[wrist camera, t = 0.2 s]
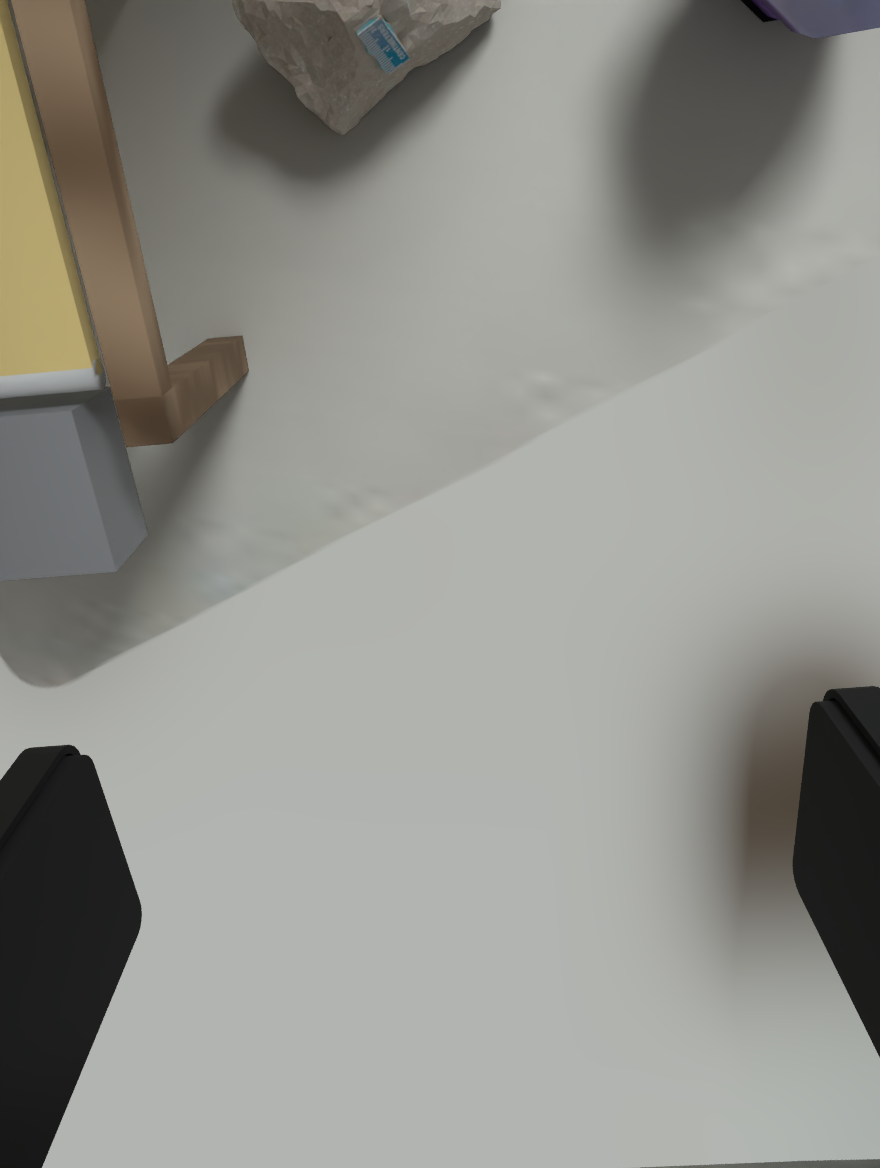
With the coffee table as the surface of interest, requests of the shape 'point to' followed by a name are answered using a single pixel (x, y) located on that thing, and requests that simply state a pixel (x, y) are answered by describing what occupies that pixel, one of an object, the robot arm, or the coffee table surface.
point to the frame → (113, 235)
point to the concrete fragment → (355, 46)
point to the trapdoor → (51, 373)
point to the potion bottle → (819, 15)
